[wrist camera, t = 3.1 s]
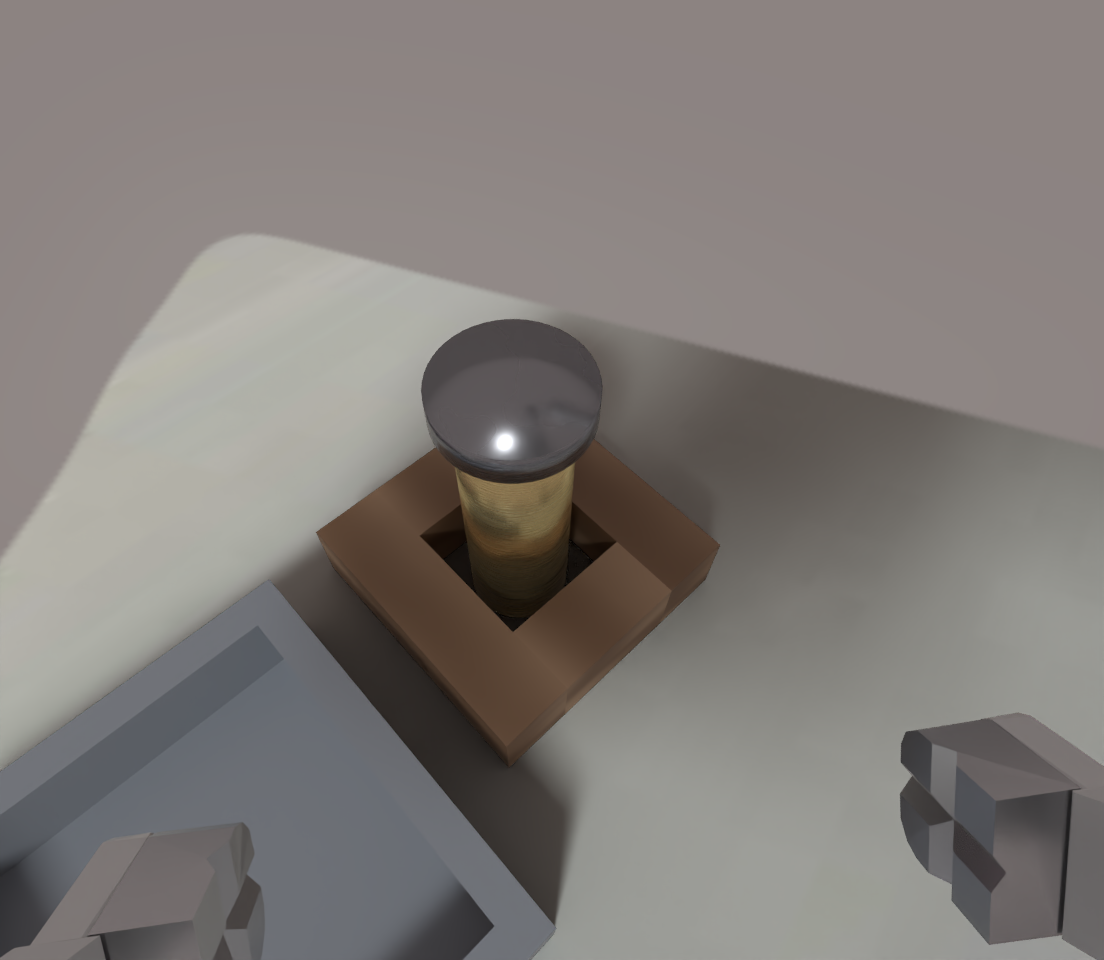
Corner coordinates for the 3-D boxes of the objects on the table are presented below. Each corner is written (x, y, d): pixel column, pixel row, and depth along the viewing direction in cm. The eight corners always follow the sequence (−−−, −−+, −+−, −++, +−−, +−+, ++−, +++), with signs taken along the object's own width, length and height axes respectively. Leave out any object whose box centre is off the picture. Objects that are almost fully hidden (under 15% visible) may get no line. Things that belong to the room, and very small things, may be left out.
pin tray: (300, 625, 25) (269, 579, 22) (553, 934, 20) (556, 928, 18) (-83, 915, 20) (-187, 905, 17) (132, 1399, 16) (40, 1496, 13)
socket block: (527, 424, 30) (527, 382, 28) (705, 579, 26) (720, 545, 24) (333, 567, 26) (316, 532, 24) (509, 767, 23) (506, 746, 21)
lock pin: (523, 499, 28) (518, 294, 19) (606, 576, 26) (639, 388, 18) (432, 571, 26) (384, 380, 18) (514, 657, 25) (504, 492, 16)
